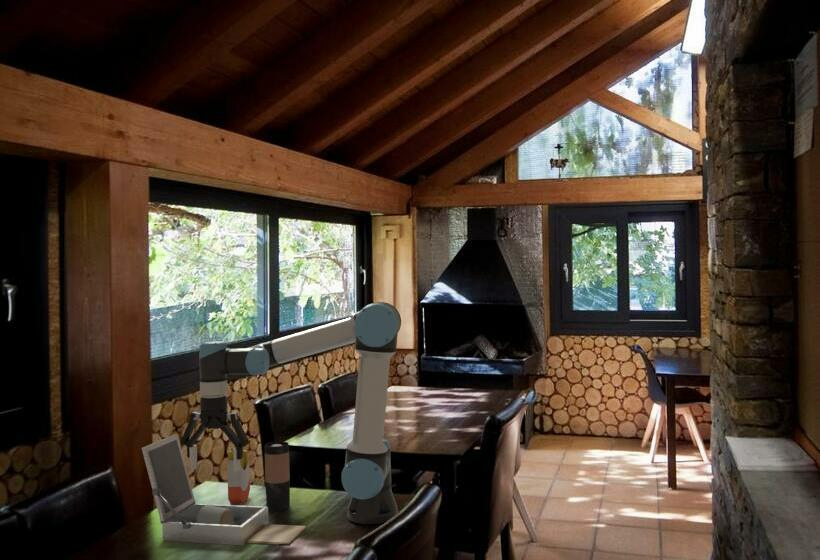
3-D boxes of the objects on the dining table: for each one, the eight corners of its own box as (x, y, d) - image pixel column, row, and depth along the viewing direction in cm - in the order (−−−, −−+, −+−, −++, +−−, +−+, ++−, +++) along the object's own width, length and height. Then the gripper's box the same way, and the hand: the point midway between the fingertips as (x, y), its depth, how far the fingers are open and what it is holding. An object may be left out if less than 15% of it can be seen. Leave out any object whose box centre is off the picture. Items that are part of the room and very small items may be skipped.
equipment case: (268, 523, 204) (266, 435, 204) (240, 547, 186) (238, 450, 186) (176, 519, 210) (174, 433, 210) (140, 541, 192) (138, 448, 192)
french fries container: (251, 496, 231) (250, 442, 231) (242, 506, 220) (240, 450, 220) (237, 496, 231) (236, 442, 231) (228, 506, 220) (226, 450, 220)
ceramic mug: (221, 539, 192) (221, 511, 192) (196, 536, 195) (195, 509, 195) (241, 526, 202) (241, 500, 203) (217, 524, 205) (216, 498, 205)
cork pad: (306, 528, 199) (306, 526, 199) (289, 545, 187) (289, 542, 187) (267, 526, 202) (267, 524, 202) (247, 542, 189) (247, 540, 189)
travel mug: (295, 505, 220) (293, 442, 220) (278, 512, 213) (277, 448, 213) (277, 502, 224) (276, 440, 224) (260, 509, 217) (259, 445, 218)
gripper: (259, 394, 199) (261, 467, 199) (181, 393, 204) (182, 464, 204) (248, 398, 192) (249, 475, 192) (167, 397, 197) (168, 471, 197)
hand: (215, 469), depth 198 cm, fingers open, 13 cm apart
